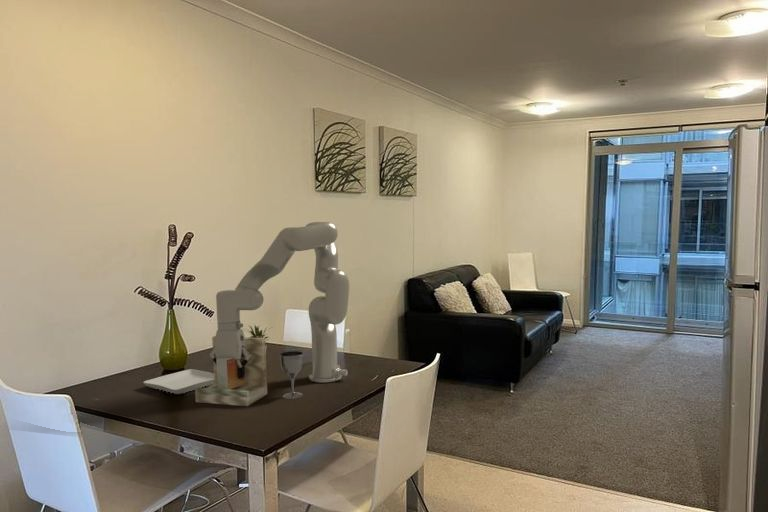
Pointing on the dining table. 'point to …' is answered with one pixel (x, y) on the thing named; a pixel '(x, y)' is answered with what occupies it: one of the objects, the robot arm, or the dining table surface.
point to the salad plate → (181, 381)
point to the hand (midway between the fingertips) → (231, 376)
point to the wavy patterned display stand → (253, 377)
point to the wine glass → (291, 369)
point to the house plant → (257, 334)
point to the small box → (228, 374)
